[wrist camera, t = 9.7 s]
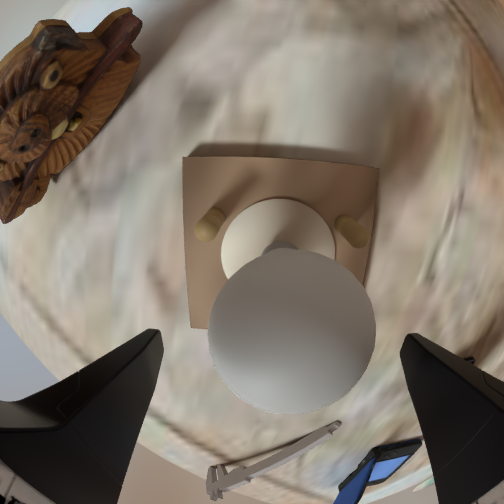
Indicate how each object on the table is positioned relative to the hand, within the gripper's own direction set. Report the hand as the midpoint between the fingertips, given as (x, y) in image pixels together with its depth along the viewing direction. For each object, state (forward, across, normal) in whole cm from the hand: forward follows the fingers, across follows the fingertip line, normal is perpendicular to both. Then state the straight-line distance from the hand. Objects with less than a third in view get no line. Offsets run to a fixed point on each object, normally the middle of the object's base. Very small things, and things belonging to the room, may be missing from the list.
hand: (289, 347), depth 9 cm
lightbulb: (+9, 0, 0) cm, 9 cm away
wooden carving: (+10, +14, -9) cm, 20 cm away
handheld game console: (+10, -18, +36) cm, 41 cm away
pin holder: (+10, 0, 0) cm, 10 cm away
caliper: (+10, -1, +27) cm, 29 cm away
